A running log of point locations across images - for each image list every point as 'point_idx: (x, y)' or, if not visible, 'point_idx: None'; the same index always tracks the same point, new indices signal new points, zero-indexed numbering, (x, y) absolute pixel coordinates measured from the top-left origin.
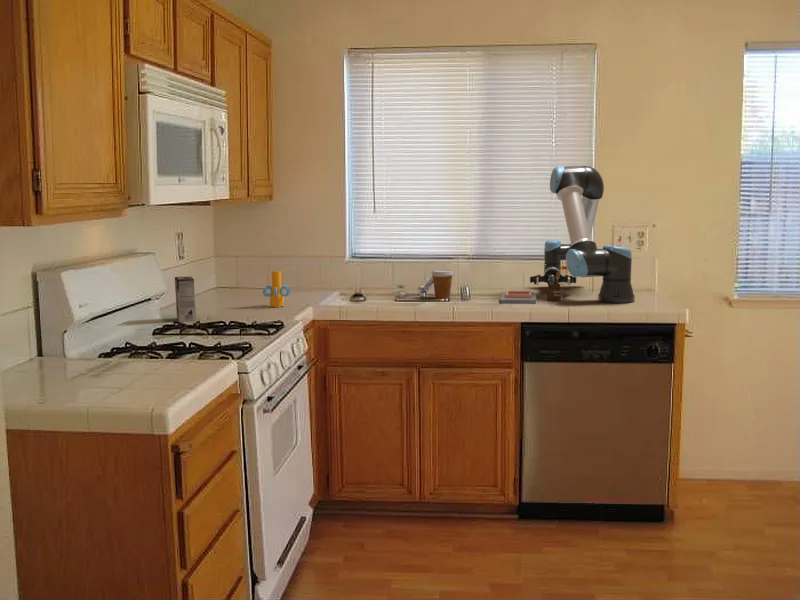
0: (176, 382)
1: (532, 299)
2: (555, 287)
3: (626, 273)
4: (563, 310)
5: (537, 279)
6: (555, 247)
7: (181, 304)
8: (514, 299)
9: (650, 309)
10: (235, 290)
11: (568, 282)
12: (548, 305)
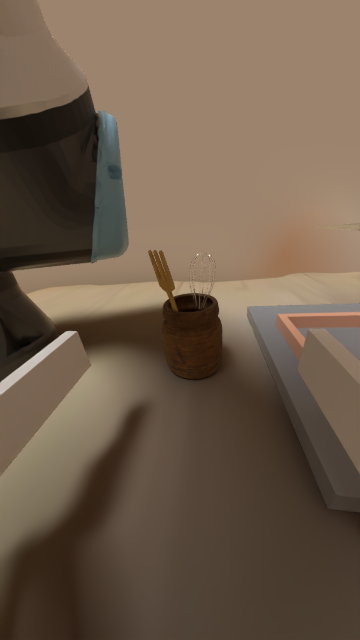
0: (339, 227)
1: (261, 310)
2: (187, 304)
3: None
4: (188, 285)
5: (315, 333)
6: None
7: None
8: (317, 307)
9: (50, 298)
10: None
11: (84, 350)
12: None
